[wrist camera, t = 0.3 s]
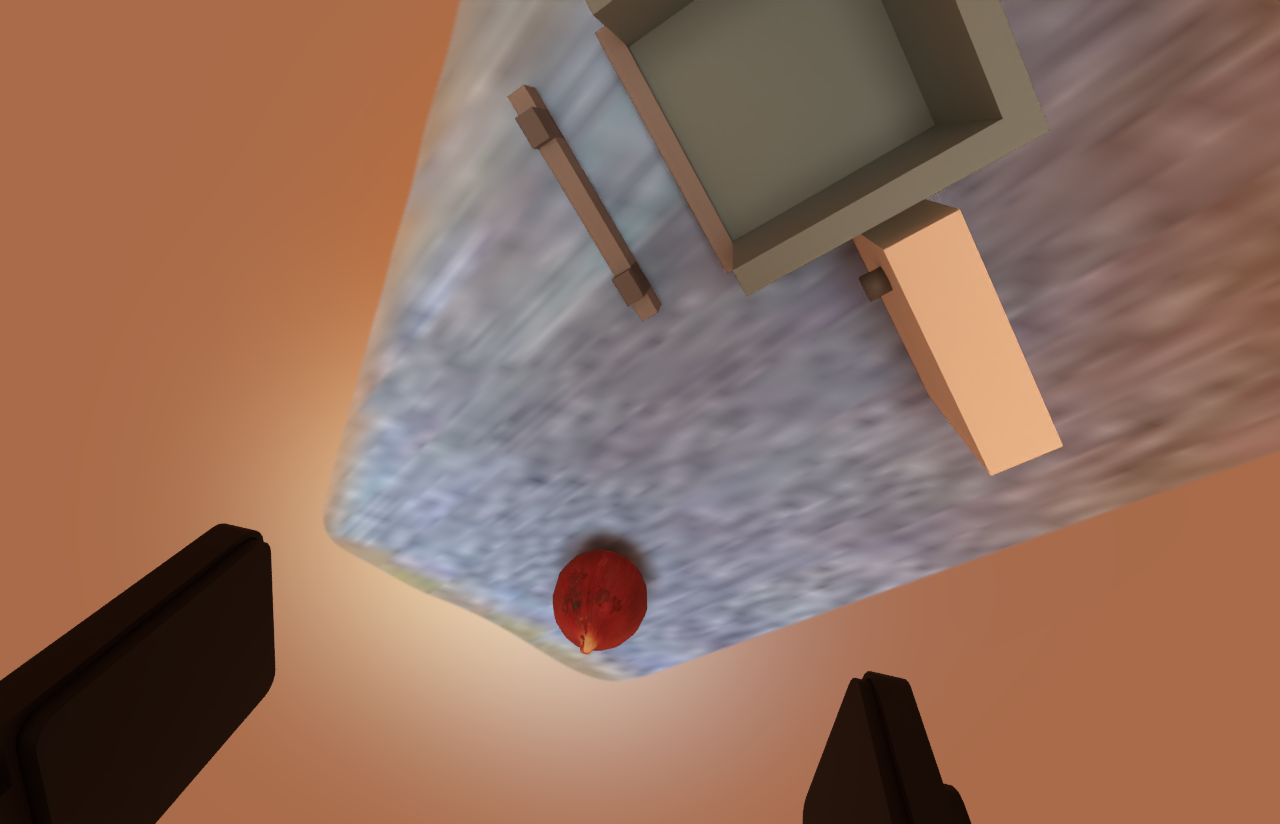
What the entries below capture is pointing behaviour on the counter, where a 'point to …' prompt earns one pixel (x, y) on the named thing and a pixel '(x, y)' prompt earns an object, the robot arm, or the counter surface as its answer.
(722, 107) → the cabinet
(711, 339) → the counter surface
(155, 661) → the robot arm
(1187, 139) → the counter surface
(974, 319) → the door
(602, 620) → the onion
